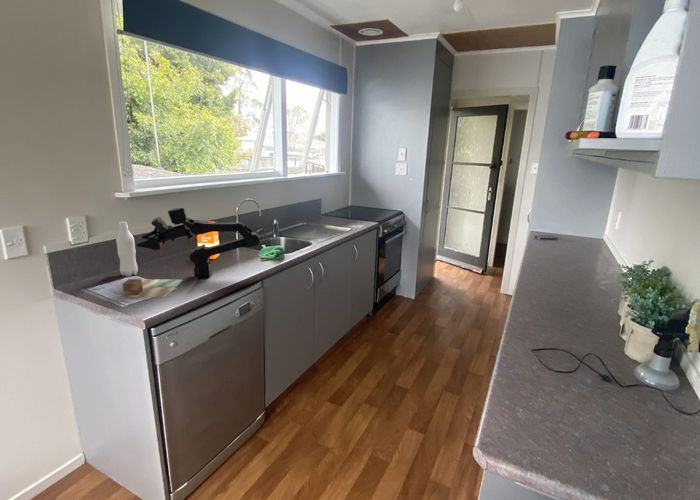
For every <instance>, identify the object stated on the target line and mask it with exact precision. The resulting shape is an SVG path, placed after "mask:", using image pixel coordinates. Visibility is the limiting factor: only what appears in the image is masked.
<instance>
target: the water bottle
mask: <svg viewBox="0 0 700 500" xmlns="http://www.w3.org/2000/svg"><path fill="white" fill-rule="evenodd" d="M118 225H119V231H118V233H117V236H116V238H115V242H116V246H117V247H116V248H117V255H118V258H119V259H118V260H119V271H120V274H121V275H122V277H132V275H133V276H136V275H137V273H138V272H139V271H138V270H139V268H138V264H137V261H136V260H137V259H136V254H137V253H136V245H135V237H134V236H133V234H132V233H131V231H130V230H129V225H128V222H127V221H119V223H118Z"/></svg>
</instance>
